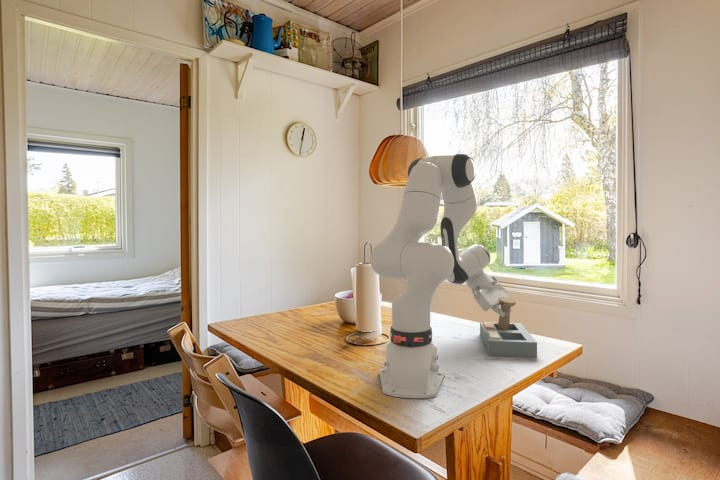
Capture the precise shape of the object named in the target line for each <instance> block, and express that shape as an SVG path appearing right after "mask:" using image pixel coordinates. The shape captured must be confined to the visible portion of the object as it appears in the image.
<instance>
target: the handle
mask: <svg viewBox="0 0 720 480" xmlns="http://www.w3.org/2000/svg"><path fill="white" fill-rule="evenodd" d="M499 301H500V304H501V305H500V309H501V310H504V311H505V313H506V315H505V316H504V317H501V316H500V315H499V317H498V321H497V323H498V330H509V323H511V322H510V320H511V313H510V309H511V308H512V307H514V306H516V300H514V299H512V298H511V297H510V298H506V297H500V298H499Z"/></svg>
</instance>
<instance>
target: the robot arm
mask: <svg viewBox="0 0 720 480" xmlns="http://www.w3.org/2000/svg"><path fill="white" fill-rule="evenodd" d="M476 170H477V169H476V163H475V161H474V159H473V157H472V156H470V155H469V154H467V153H460V152H459V153H456V154H455V153H454V154H453V153H451V154H436V155H429V156H426V157H419V158H416V159H414V160H413V161H411V163H410V165H409V166H408V169H407V179H406V180H407V181H406V184H405V187H404V191H403V197H402V202H401V206H400V209H399V214H398V217H397V220H396V223H395V224H394V226H393V228H392V230H391V231H390V232H389V233H388V235H387V236H386V237H385V238H384V239H383V240H382V241H381V242H380V243H378V244H376V245H375V246H373V247H374V248H373V249H372V250H371V254H370V260H369V261H370V266H371V269H372V271H373V272H374V273H375V274H376V275H379V276H382V277H385V278H388V279H395V280H404V281H405V280H407V286H406V289H405V291H403V292H401V293H399V294H398V295H397V296H395V297H394V299H393V300H392V302H391V326H390V332H389V335H390V338H389V339H390V342H388V343H387V344H386V347H385V352H386V353H385V354H386V355H385V356H386V361H384V364H383V365H384V368H380V369H379V372H378V375H379V378H380V379H379V380H380V385H381V390H382V393H383V394H384V395H387V396H390V397H394V398H395V397H396V398H404V399H429V398H431V399H432V398H435V397H437V395H438V392H439V391H440V388H441V386H442V384H443V381H444V379H445V372H444V371H442V370H440V368H439V367H440V366H439V363H438V361H439V355H438V347H437V346H436V345H435V344H434V343H433V342H432V341H433V331H432V327H431V312H432V311H431V309H432V301H433V297H434V294H435V292H436V290H437V289H438V288H439V286H440V285H441V284H443V282H445V281H448V282H450V283H452V284H455V285H463V284H464V283H465V285H466V286H467V288H468V289H469V290H470V291H471V292H472V295H473V298H474V300H475V301H476V303H477V305H478V306H479V307H480V308H481V309H482V310H483V311H484V312H488V311H490V310H492V311H493V312H495V313H496V314H498V315H499V316H501V317H504V316H505V315H506V313H505V311H504V310H501V307H500V306H501V304H500V301H499V298H500V297H506V298H510V299H511V296H510V294H509V292H508V291H507V290H506V289H505V288H504V287H503V285H502V284H501V283H500V282H499V279H498V278H497V277H495V276H492V275H489V274H488V273H487V272H486V271H485V270H484V269H485V268H486V267H487V266H489V264H490V263H491V254H490V252H489V250H488V249H487V248H486V247H485V246H483V245H481V244H478V243H475V244H472V245H469V246H468V247H466V248H459V243H458V242H459V240H458V237H459V235H460V233H461V231H462V230H463V228H464V227H465V226H466V225H467V223H468V222H470V221H471V219H472V218H473V217H474V215H475V214H476V211H477V209H478V199H477V194H476V191H475V187H474V182H473V181H474V180H475V178H476ZM441 197H442V200H443V209H444V210H443V216H442V219H441V221H440V237H441V239H440V240H441V244H439V243H435V242H419V241H420V239H421V238H422V237H423V236H424V235H425V234H428V233H429V232H431V231H432V230H434V228H435V227H436V225H437V221H438V218H439V217H438V215H439V210H440V205H441ZM511 313H513V310H512V309H511V308H510V314H511Z"/></svg>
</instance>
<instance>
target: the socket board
mask: <svg viewBox="0 0 720 480" xmlns="http://www.w3.org/2000/svg"><path fill="white" fill-rule="evenodd" d="M479 335H480V338H481V340H482V342H483V345H484V348H485V350H486V353H487V355H488V356H490V357H491V356H492V357H509V358H510V357H514V358H536V359H537V358H538V342H537V340H535V338H534V337H533V336H532V334H530V332H529V331H528V330H527V328H525V326H524V325H523V324H522V323H521V322H510V323H509V330H498V321H496V322H490V321H480V322H479Z"/></svg>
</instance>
